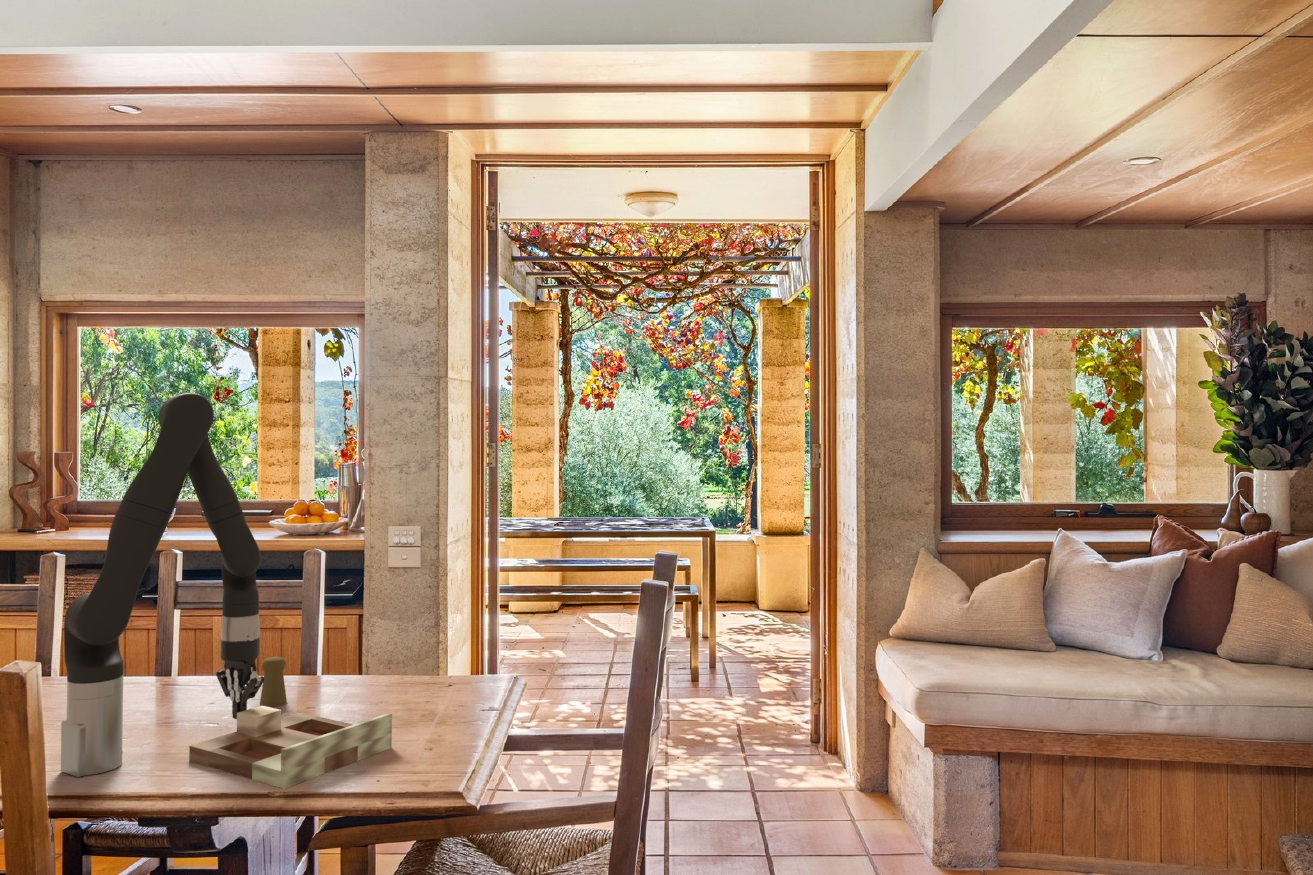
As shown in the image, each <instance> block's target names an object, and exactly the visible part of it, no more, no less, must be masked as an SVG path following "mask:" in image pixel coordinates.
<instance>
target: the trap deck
mask: <svg viewBox="0 0 1313 875" xmlns="http://www.w3.org/2000/svg"><path fill="white" fill-rule="evenodd" d="M392 735H393V713H389V712H388V713H385V714H381V715H378V716H376V717H371V718H370V719H367V720H364V721H360V722H358V723H355V724H353V723H348V722H344V721H339V720H335V719H332V718H331V719H330V718H327V717H326V718H325V717H322V716H318V715H314V714H309V713H305V712H296V713H293V714H290V715H287V716H283V717H281V729H280V730H277V731H274V732H271V733H267V734H264V735H261V736H258V737H253V736H249V735H245V734H241V733H237V731H234V732H230V733H226V734H224V735H220V736H217V737H214V738H211V739H207V740H204V741H201V742H197V743H194V744H191V745H189V750H188V752H189V755H188V756H189V757H188V759H189V761H188V762H191V763H195V764H199V765H202V766H205V767H208V768H213V769H215V770H218V769H219V771H221V772H225V773H228V774H233V775H235V776H240V777H242V778H246V779H249V780H251V781H252V780H253V781H256V782H259V783H263V784H267V785H270V786H273V787H277V788H280V789H283V790H285V789H288V788H290V787H294V786H296V785H298V784H300V783H303V782H307V781H309V780H311V779H314V778H316V777H319V776H321V775H324V774H327V773H330V772H333V771H335V770H338V769H340V768H342V767H345V766H347V765H351V764H353V763H356V762H358V761H360V760H361V761H362V760H363V759H367V758H368V757H371V756H373V755H376V754H379V753H383V752H385V751H386V750H389V749H391V748H392V744H393V741H392V740H393V739H392V738H393V737H392Z"/></svg>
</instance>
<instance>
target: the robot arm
mask: <svg viewBox="0 0 1313 875" xmlns="http://www.w3.org/2000/svg"><path fill="white" fill-rule="evenodd" d="M214 418H215V411H214V407H213V405H212V403H211V402H210V401H209V400H208V399H207V398H206V397H205V396H203V395H202V394H198V393H193V392H186V393H182V394H178V395H175V396H172V397H170V398H167V400H165V402H164V403H162V405H161V407H160V408H159V411H158V423H159V425H160V431H159V433H158V436H157V439H156V442H155V445H154V446H153V449H152V451H151V453H150V455H149V456H148V458H147V460H146V461H145V463H143V465H142V467H141V468H140V469H139V471H138V472H137V474H136V475H135V476H134V478H133V480H132V481H131V483H130V485H129V486H128V488H126V489H127V490H126V491H125V493H124V495H123V497H122V499H121V501H120V504H119V506H118V508H117V511H116V512H115V515H114V517H113V520H112V522H111V525H110V530H109V533H108V538H107V539H108V540H107V546H106V551H105V552H106V553H105V557H104V561H103V562H104V563H103V565H102V569H101V571H100V573H99V576H98V578H97V579H96V581H95V583H94V585H93V587H92V589H91V591H90V592H86V593H84V594H81V595H79V596H78V597H76V598H74V600H72V601H71V603H70V604H69V605H68V607H67V609H66V611H65V614H64V622H63V625H64V626H63V635H64V636H63V644H64V645H63V646H64V647H63V650H64V652H63V653H64V654H63V655H64V656H63V657H64V664H65V669H66V719H65V720H62V721H61V725H60V726H61V727H60V772H61V773H64V774H68V775H71V776H74V777H75V778H76V777H77V778H80V777H82V776H83V777H84V776H89V775H97V774H102V773H105V772H108V771H111V770H114V769H116V768H119V767H121V765H122V764H123V753H124V752H123V733H124V732H123V729H124V727H123V726H124V725H123V723H124V722H123V721H124V718H123V717H124V665H125V664H124V660H123V657H122V655H121V654H122V653H121V649H120V640H119V638H120V636H122V634H123V633H124V631H125V630H126V628H127V627H128V625H129V622H130V619H131V615H132V612H133V609H134V607H135V606H134V605H135V603H136V599H137V596H138V593H139V589H140V587H141V584H142V581H143V579H144V576H145V575H146V574H145V573H146V572H147V570H148V567H149V566H150V564H151V561H152V560H153V557H154V555H155V553H156V551H157V548H158V546H159V544H160V542H161V539H162V538H163V536H164V533H165V531H166V530H167V527H168V524H169V522H170V520H171V519H172V518H171V517H172V515H173V513H174V510H175V508H176V505H177V502H178V500H179V497H180V495H181V491H182V489H183V487H184V484H185V481H186V478H187V475H188V477H189V480H190V482H191V483H192V486H193V487H192V488H193V489H194V491H195V495H196V497H197V499H198V502H199V506H200V508H201V510H202V513H203V515H204V518H205V520H206V523H207V525H208V526H209V527H208V528H209V529H210V531H211V532H212V534H213V535H214V537H215V538H216V542H217V544H218V546H219V547H218V548H219V550H220V554H221V565H220V566H221V580H222V585H223V586H222V587H223V588H222V590H223V591H222V617H221V623H220V624H221V625H220V660H222V661H223V662H224V663H223V668H222V670H219V671H216V672H215V675H216V678H217V680H218V683H219V686H220V687H221V689H222V692H223V693H224V696H225V697H226V698H227V697H228V698H229V699H230V701H231V702H232V704H231V708H232V710H231V713H232V718H233V719H234V720H237V713H238V712H242V711H245V710H248V700H250V699H255V697H256V695H257V693H258V692H259V690H260V688H262V685H263V682H264V675H262V676H259V675H258V673H257V665H256V660H257V658H259V657H260V654H261V652H260V651H261V649H260V648H261V646H260V645H261V623H260V593H259V588H258V587H257V571H258V569H259V568H260V566H261V564H262V554H261V551H260V548H259V545H258V544H257V541H256V539H255V537H254V535H253V533H252V531H251V529H250V528H249V526H248V524H247V520H246V516H245V514H244V511H243V508H242V506H241V503H240V501H239V498H238V496H237V493H236V491H235V489H234V487H233V485H232V483H231V481H230V479H229V478H228V477H227V475H226V473H225V471H224V470H223V468H222V467H221V465H220V463H219V461H218V459H217V457H216V455H215V452H214V450H213V448H212V445H211V441H210V437H209V433H210V430H211V429H212V427H213V424H214V420H215V419H214Z"/></svg>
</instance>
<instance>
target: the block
mask: <svg viewBox="0 0 1313 875" xmlns="http://www.w3.org/2000/svg"><path fill="white" fill-rule="evenodd" d="M281 718H282V709H278V708H275V707H274V708H273V707H266V706H260V705H259V706H257V707H254V708H250V709H247V710H245V711H242V712H238V713H237V719H236V732H237V733H241V734H245V735H249V736H253V737H258V736H261V735H264V734H267V733H271V732H274V731H277V730H280V729H281Z"/></svg>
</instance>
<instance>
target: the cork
mask: <svg viewBox="0 0 1313 875" xmlns="http://www.w3.org/2000/svg"><path fill="white" fill-rule="evenodd" d="M261 668H262V670H263V672H264V673H263V677H264V682H263V683H262V685H261V693H260V698H259V706H266V707H270V708H273V707H274V708H275V707H280V706H284V705H286V704H287V703H288V702H287V701H288V698H287V695H286V694H287V693H286V684H285V676H284V670H285V668H286V660H285V658H284V657H281V656H271V657H266V658H265V659H264V660H263V661H262V663H261Z"/></svg>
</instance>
